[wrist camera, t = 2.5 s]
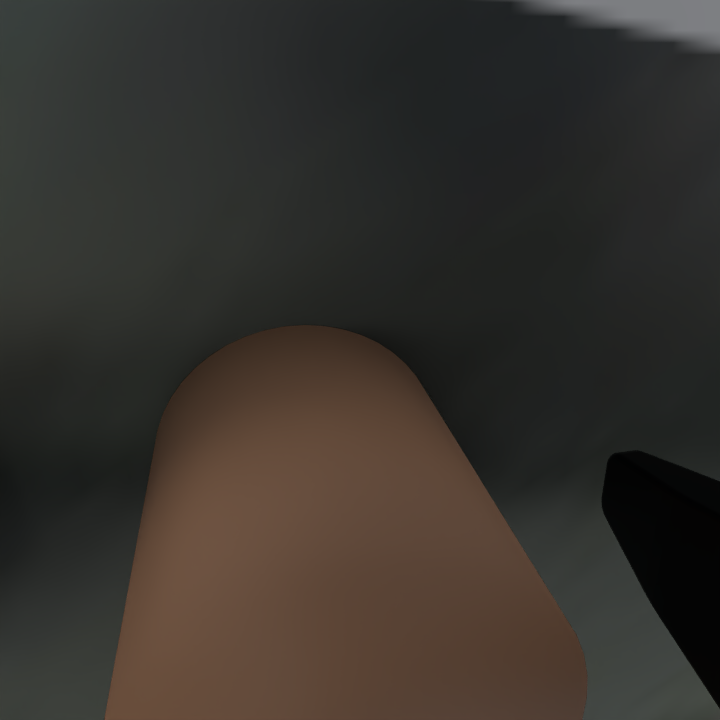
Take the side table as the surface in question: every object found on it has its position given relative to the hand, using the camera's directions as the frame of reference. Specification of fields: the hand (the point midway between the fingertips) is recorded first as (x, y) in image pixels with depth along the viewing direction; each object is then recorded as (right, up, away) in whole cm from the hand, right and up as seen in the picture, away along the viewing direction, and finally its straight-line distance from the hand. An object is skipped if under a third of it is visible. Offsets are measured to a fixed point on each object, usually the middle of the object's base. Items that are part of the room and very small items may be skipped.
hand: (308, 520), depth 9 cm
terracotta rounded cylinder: (0, +1, +1) cm, 2 cm away
